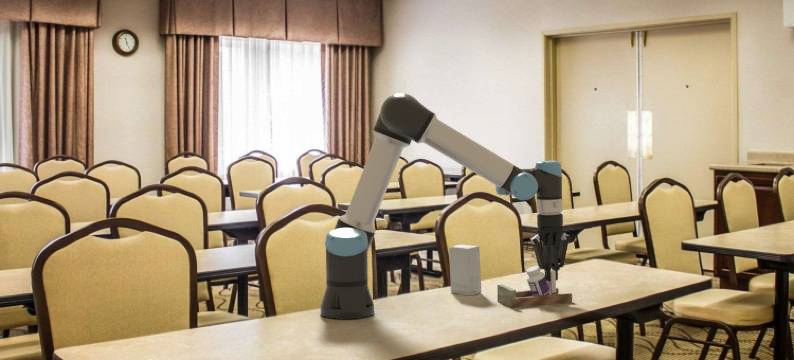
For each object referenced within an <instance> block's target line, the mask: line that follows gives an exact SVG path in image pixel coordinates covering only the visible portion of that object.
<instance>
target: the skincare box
mask: <svg viewBox="0 0 794 360" xmlns="http://www.w3.org/2000/svg"><path fill="white" fill-rule="evenodd" d="M480 251H481V250H480V245H469V244H468V245H467V244H457V245H453V246H448V255H449V259H448V260H449V274H450V275H449V277H450V280H449V282H450V293H451V294H458V295H462V296H463V295H464V296H474V295H479V294H482V272H481V254H480Z"/></svg>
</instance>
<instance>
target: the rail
mask: <svg viewBox="0 0 794 360" xmlns="http://www.w3.org/2000/svg"><path fill="white" fill-rule="evenodd" d="M559 291H560V290H559V288H557V287H556V292H554V293H551V295H542V296H533V295H532V293H531V290H530V289H529V290H519V291H518V290H516V289H514V288H511V287H510V286H507V285H504V284H497V302H498V303H500V304H502V305H505V306H507V307H509V308H520V307H521V308H522V307H534V306H544V305H554V304H566V303H573V293H572V292H568V293H567V292H566V293H560V292H559Z"/></svg>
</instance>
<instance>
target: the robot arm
mask: <svg viewBox="0 0 794 360" xmlns="http://www.w3.org/2000/svg"><path fill="white" fill-rule="evenodd" d="M372 133H373V135H374V137H375V139H374V141H373V144H372V145H371V149H370V151H369V154H368V156H367V159H366V161H365V164H364V167H363V169H362V172H361V174H360V178H359V180H358V183H357V184H356V187H355V190H354V192H353V195H352V198H351V200H350V203H349V205H348V208H347V210H346V212H345V214H343V215H341V216H339V217H338V219H337V221H336V224H335V226H334V229H332V230H330V231H328V232H327V233H326V235H325V241H324V246H325V272H326V274H325V276H326V277H325V278H326V286H325V291H324V292H323V293H324V294H323V297H322V301H321V304H320V315H321V314H322V315H323V316H322V315H321V316H322V317H324V316H326V317H325V318H328V317H330V318H329V319H334V318H337V319H336V320H355V319H354V318H357V319H362V317H364V318H368V317H370V315H371V316H373V315H374V314H375V303H374V301H373V297H372V295H371V292H370V289H369V284H368V283H369V281H368V280H369V279H368V278H369V276H368V274H369V273H368V271H369V270H368V269H369V268H368V267H369V265H368V264H369V263H368V252H369V250H370V247H371V245H372V242H373V239H374V238H375V235H376V228H375V227H374V223H375V221H376V217H377V215H378V213H379V211H380V208H381V206H382V202H383V200H384V198H385V194H386V192H387V190H388V188H389V185H390V182H391V180H392V177H393V175H394V172H395V170H396V167H397V165H398V162H399V159H400V157H401V154H402V152H403V150H404V149H405V148H407V147H409V146H410V145H411V144H412V141H413V142H415V143H416V144H425V145H427V146H429V147H430V148H432V149H434V150H435V151H437V152H439V153H440V154H442V155H444V156H445V157H448V158H449V159H451V160H452V161H454V162H456V163H458V164H459V165H461V166H462V167H465V168H466V169H468V170H469V171H471V172H473V173H475V175H478V176H479V177H481V178H483V179H484V180H486V181H488V182H490V183H491V184H493V185H495V190H496V194H497V195H499V196H510V195H511V196H513V197H514V198H515V199H517V200H519V201H527V200H531V199H532V198H533V197H535V195H536V212H537V213H538V214H537V215H536V218H537V220H536V224H537V230H536V235H534V236H533V237H530V238H529V241H530V244H532V247H533V251H534V255H535V259H536V262H537V266H539V268H540V270H544V275H545V278H546V280H547V283H548V286H549V289H550V291H551V293H554V292H556V288H557V281H558V280H559V272H558V271H560V269H561V268H564V267H565V262H566V257H567V256H566V255H567V251H568V247H569V246H568V245H569V242H570V240H571V239H572V236H571V235H570V234H567V233H566V232H565V229H564V228H563V226H564V214H563V213H562V212H563V173H562V164H561V162H560V161H558V160H540V161H536V162H535V166H534V167H533V168H520V167H518V166H516V165H514V163H512V162H510V161H508V160H507V159H505V158H504V157H501V156H500V155H498V154H496V153H495V152H493V151H492V150H489V149H488V148H486V147H485V146H483V145H481V144H480V143H478V142H477V141H475V140H473V139H472V138H470V137H468V136H466V135H464V134H463V133H462V132H459V131H458V130H456V129H455V128H453V127H452V126H449V125H448V124H446V123H444V122H442V121H441V120H439V119H438V117H437V115H436V113H435V112H434V111H431V110H430V109H428V108H427V107H426V106H424V105H423V104H422V103H421V102H420V101H418V100H417V98H415V97H414V96H412V95H411V94H408V93H400V92H399V93H394V94H392V95H390V96H389V97H387V98H386V99H385V100H384V101H383V103H382V104H381V107H380V110H379V114H378V117H377V120H376V122H375V124H374V126H373V130H372ZM540 242H541V243H542V244H540ZM367 316H368V317H367Z"/></svg>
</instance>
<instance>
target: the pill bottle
mask: <svg viewBox="0 0 794 360" xmlns="http://www.w3.org/2000/svg"><path fill="white" fill-rule="evenodd" d="M525 272H526V273H527V278H526V281H527V284H528V287H529V290H531V293H532V295H533V296H542V295H551V291H550V289H549V286H548V283H547V280H546V278H545V272H542V271H541V268H539V266H538V265H533V266H532V265H531V266H530V267H528V268H526V271H525Z"/></svg>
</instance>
